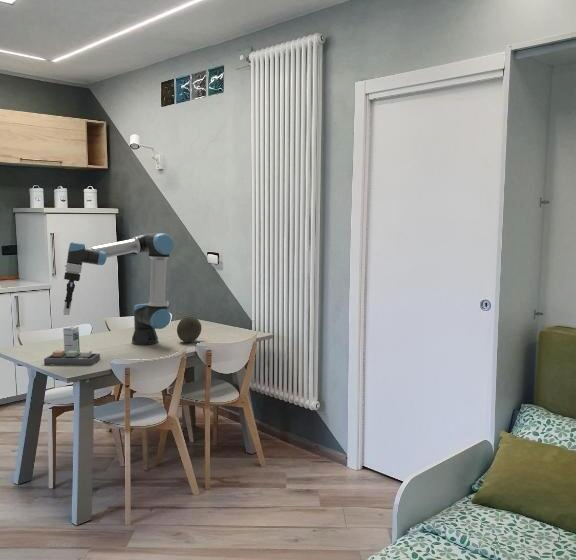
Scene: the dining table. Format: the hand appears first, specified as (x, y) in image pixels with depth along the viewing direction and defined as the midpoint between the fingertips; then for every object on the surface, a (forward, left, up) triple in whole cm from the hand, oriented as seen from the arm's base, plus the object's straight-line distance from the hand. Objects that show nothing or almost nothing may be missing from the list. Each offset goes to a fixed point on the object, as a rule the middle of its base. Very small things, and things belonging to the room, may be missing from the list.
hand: (66, 313), depth 301 cm
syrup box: (+5, -17, -25) cm, 31 cm away
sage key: (-3, +2, -21) cm, 21 cm away
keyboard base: (-3, +2, -25) cm, 25 cm away
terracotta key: (+4, +2, -21) cm, 22 cm away
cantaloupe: (-53, -48, -25) cm, 76 cm away
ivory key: (-10, +2, -21) cm, 24 cm away
